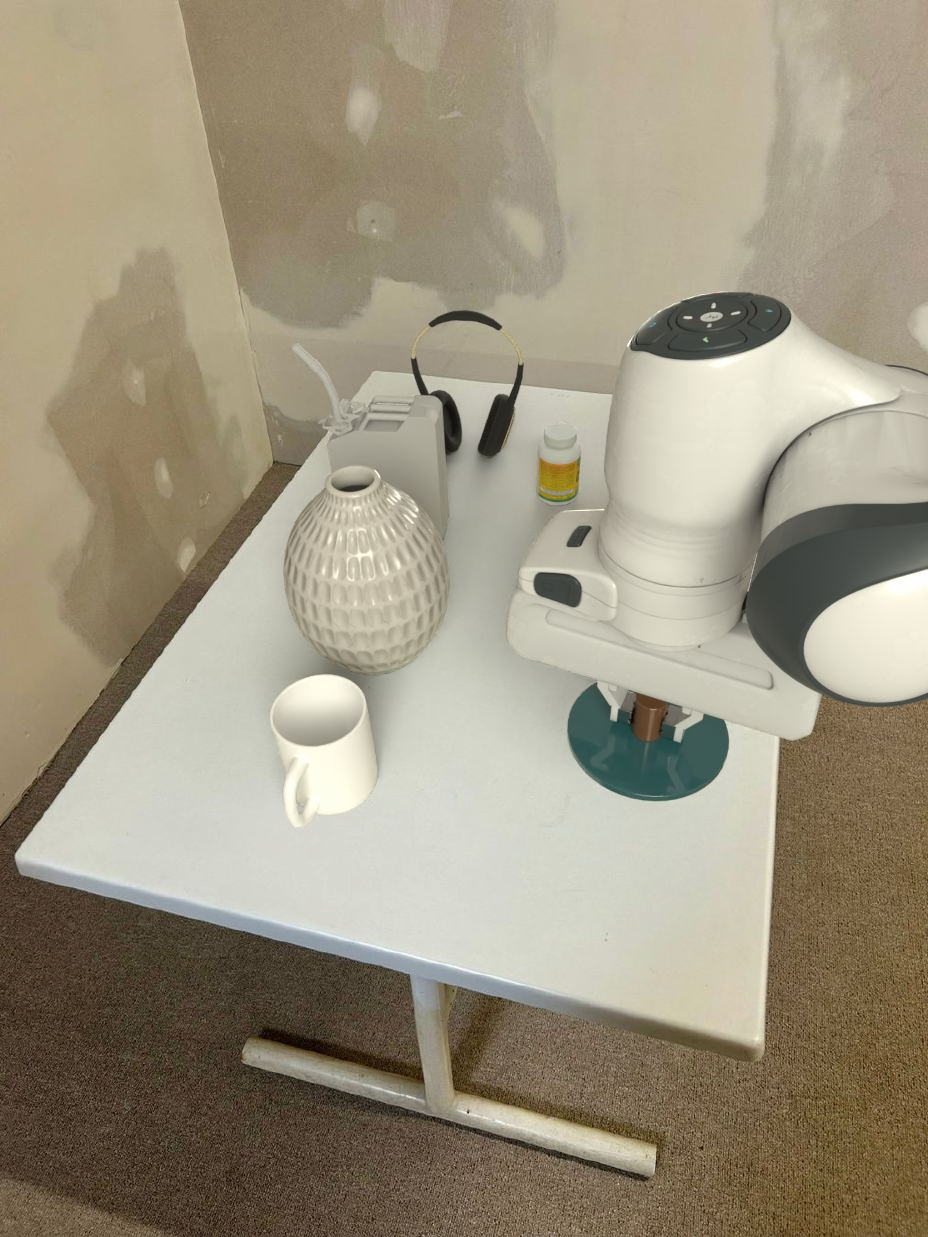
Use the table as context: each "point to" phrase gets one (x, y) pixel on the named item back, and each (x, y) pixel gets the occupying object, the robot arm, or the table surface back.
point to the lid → (644, 749)
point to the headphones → (501, 406)
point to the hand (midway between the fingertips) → (647, 724)
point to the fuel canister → (391, 442)
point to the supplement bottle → (558, 465)
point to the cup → (323, 746)
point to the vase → (366, 573)
